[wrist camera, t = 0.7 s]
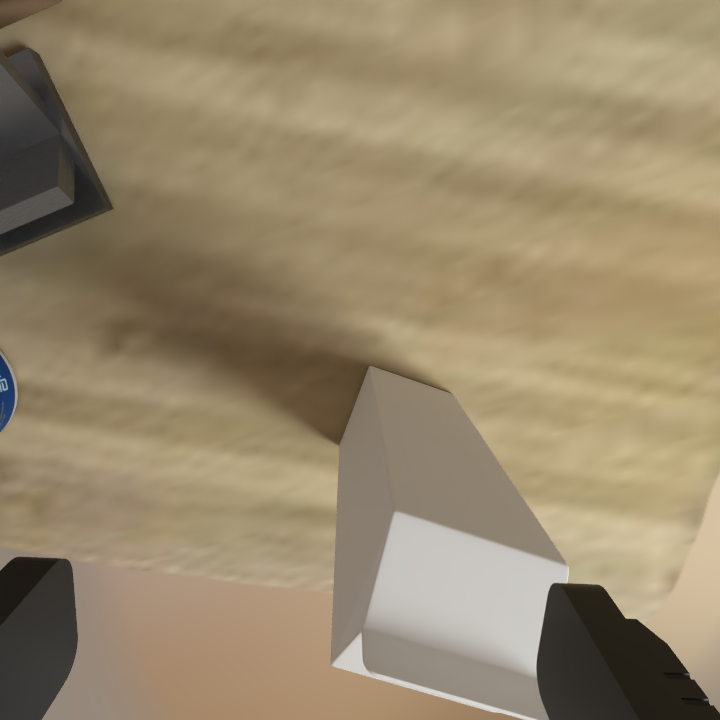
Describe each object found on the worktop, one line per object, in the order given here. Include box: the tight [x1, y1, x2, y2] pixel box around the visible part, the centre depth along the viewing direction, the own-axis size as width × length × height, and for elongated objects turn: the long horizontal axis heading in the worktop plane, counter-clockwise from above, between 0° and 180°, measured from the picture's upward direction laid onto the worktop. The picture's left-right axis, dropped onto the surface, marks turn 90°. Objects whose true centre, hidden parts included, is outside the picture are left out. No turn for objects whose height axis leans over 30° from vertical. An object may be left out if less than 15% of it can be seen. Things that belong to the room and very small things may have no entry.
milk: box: [331, 366, 569, 720], centre depth 25 cm, size 6×6×22 cm
